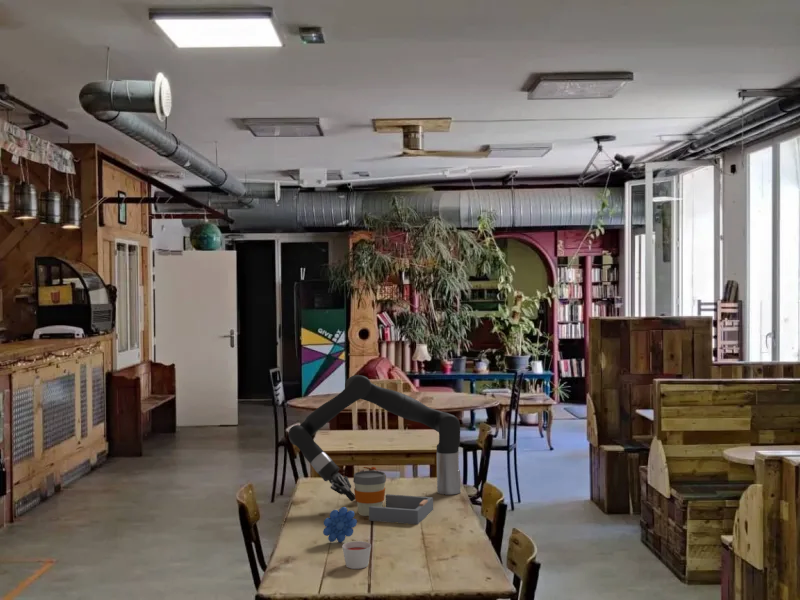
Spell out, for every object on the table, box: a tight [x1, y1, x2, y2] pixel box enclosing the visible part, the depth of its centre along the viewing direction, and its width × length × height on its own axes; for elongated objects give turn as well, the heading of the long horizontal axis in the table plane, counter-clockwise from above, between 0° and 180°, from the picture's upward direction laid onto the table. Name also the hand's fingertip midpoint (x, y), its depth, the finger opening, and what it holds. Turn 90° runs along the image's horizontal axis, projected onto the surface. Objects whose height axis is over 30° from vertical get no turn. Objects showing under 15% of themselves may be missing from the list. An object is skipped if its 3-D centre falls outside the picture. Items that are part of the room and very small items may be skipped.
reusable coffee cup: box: [352, 470, 387, 517], centre depth 317 cm, size 13×13×15 cm
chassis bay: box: [368, 493, 434, 525], centre depth 313 cm, size 19×20×6 cm
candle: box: [341, 540, 372, 570], centre depth 257 cm, size 9×9×6 cm
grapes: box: [322, 506, 358, 543], centre depth 282 cm, size 12×7×12 cm, turn 98°
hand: (354, 499), depth 319 cm, fingers closed
